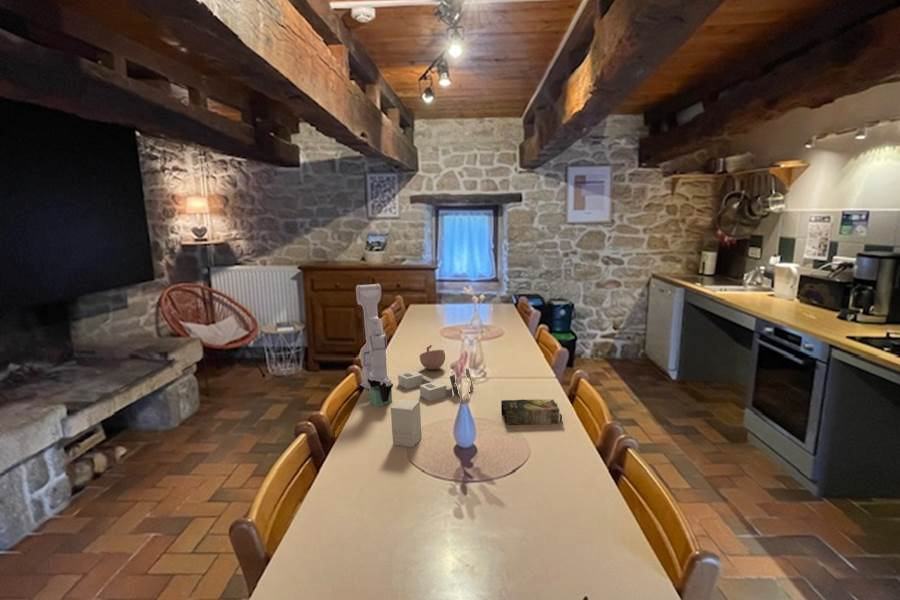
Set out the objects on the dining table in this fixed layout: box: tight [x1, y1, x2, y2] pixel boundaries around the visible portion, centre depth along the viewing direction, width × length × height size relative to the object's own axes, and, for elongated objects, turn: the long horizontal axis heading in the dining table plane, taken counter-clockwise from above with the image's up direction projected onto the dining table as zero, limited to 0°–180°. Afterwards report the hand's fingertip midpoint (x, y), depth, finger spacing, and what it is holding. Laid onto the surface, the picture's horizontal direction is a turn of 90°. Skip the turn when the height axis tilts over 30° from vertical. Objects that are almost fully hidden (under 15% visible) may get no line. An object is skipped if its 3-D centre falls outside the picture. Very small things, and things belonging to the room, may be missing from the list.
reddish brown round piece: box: [419, 344, 446, 371], centre depth 219 cm, size 12×12×12 cm
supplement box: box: [390, 398, 423, 448], centre depth 149 cm, size 7×7×13 cm
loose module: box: [368, 386, 393, 407], centre depth 182 cm, size 5×7×6 cm
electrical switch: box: [449, 368, 475, 397], centre depth 190 cm, size 9×5×9 cm, turn 141°
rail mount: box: [397, 370, 453, 402], centre depth 194 cm, size 26×10×5 cm, turn 37°
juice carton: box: [500, 398, 563, 426], centre depth 164 cm, size 20×10×6 cm, turn 91°
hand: (380, 398), depth 182 cm, fingers open, 7 cm apart
